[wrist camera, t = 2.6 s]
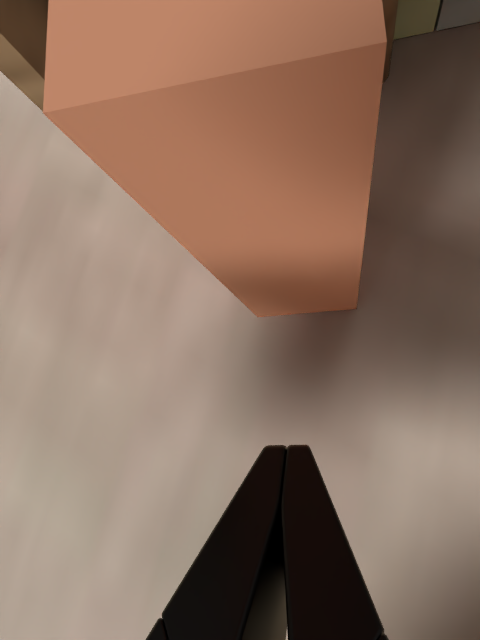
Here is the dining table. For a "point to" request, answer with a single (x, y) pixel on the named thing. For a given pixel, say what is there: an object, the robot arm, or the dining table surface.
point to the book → (233, 130)
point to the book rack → (32, 15)
